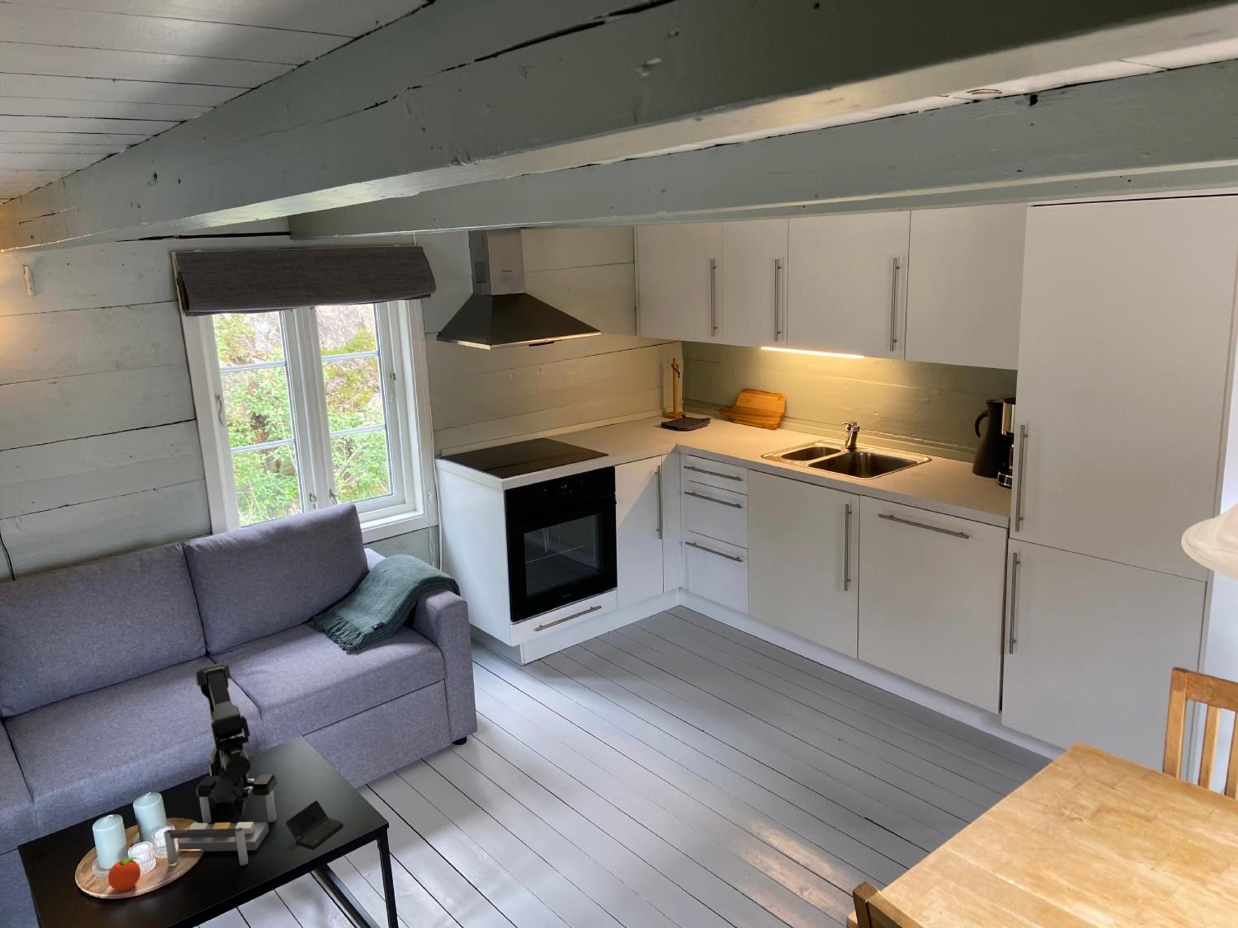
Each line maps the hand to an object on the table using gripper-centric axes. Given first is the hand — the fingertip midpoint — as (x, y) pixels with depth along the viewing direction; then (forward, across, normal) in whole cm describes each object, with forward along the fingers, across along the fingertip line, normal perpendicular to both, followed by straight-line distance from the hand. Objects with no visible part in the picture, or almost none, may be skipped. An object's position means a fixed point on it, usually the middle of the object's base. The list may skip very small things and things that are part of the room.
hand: (241, 814), depth 235 cm
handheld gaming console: (+8, +18, +3) cm, 20 cm away
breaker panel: (+8, -5, 0) cm, 9 cm away
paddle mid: (+5, -5, 0) cm, 7 cm away
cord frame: (+8, -5, 0) cm, 9 cm away
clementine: (+8, -21, -17) cm, 28 cm away
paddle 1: (+5, -11, 0) cm, 12 cm away
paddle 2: (+5, +1, 0) cm, 5 cm away
